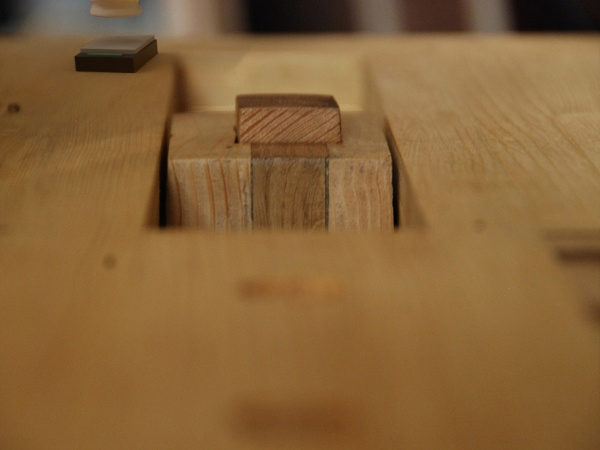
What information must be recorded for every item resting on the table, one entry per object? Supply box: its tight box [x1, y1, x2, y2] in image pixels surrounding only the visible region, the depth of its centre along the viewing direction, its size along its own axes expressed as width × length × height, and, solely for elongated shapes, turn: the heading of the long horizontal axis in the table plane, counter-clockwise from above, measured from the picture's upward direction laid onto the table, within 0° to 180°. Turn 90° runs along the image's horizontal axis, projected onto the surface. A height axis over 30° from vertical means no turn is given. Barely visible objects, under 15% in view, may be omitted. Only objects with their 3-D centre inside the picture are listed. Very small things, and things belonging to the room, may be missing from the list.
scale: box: [74, 33, 159, 74], centre depth 136 cm, size 10×14×3 cm
